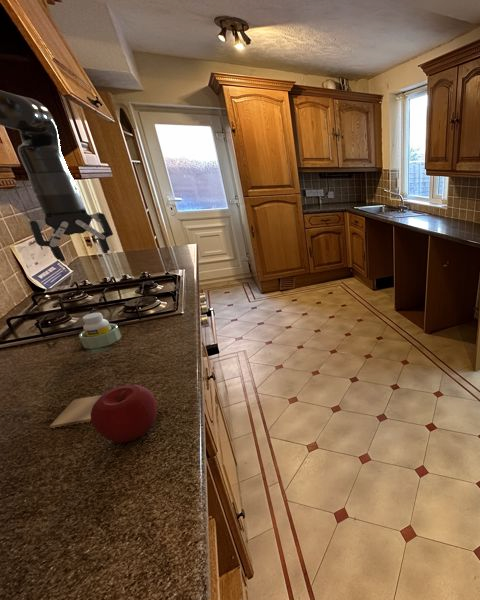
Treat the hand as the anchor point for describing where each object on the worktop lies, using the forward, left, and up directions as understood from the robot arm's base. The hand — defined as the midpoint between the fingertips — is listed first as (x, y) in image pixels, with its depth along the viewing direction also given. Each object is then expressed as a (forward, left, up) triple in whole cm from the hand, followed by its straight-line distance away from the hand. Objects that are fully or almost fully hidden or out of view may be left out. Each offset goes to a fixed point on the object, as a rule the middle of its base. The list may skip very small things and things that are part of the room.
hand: (84, 256), depth 84 cm
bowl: (-3, -1, -26) cm, 26 cm away
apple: (+20, -41, -26) cm, 53 cm away
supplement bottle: (-3, -1, -26) cm, 26 cm away
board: (+8, -31, -26) cm, 41 cm away
